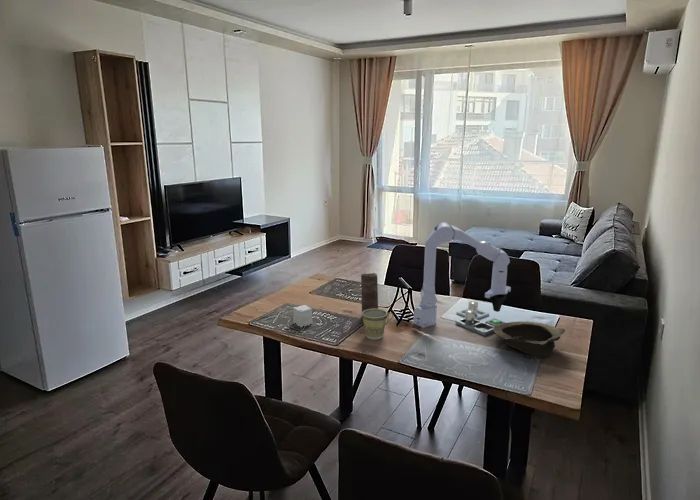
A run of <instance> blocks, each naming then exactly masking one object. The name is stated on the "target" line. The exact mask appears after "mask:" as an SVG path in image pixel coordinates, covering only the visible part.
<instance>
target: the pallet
mask: <svg viewBox="0 0 700 500" xmlns="http://www.w3.org/2000/svg"><path fill="white" fill-rule="evenodd" d="M455 325H457V326H459V327H462V328H464V329H466V330H468V331H472V332H474V333H476V334H479V335H480V336H483V337H486V336H488V335H492V334H494V333H495V332H494V331H493V330H494V327H495V326H492V325H490V324H487V323H485V321H482V320H480V319H478V320H477V319H475V322H474V324H473V325H468V324H466V323H465V317H463V318H460V319H457V320H455Z"/></svg>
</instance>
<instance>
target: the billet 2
mask: <svg viewBox="0 0 700 500" xmlns="http://www.w3.org/2000/svg"><path fill="white" fill-rule="evenodd" d="M464 314H465V317H464V318H465V323H466V324H468V325H473V324H474V322H475V317H476V316H475V311H474V310H465V312H464Z"/></svg>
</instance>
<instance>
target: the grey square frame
mask: <svg viewBox="0 0 700 500" xmlns="http://www.w3.org/2000/svg"><path fill="white" fill-rule="evenodd" d="M465 310H468V307H467V308H463V309H460V310H457V311H456V315H458V316H460V317H463V318H465ZM478 313H479V314H480V315H477V316H475V319H477V320H480V319H484V318H487V317H489V316H490V313H489V312H486V311H484V310H481V309H479V308H478V312H477V314H478Z"/></svg>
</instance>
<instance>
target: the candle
mask: <svg viewBox="0 0 700 500" xmlns="http://www.w3.org/2000/svg"><path fill="white" fill-rule="evenodd" d="M360 278H361V279H360V283H361V284H360V285H361V286H360V287H361V289H360V290H361V313H362V312H363V311H364V310H367V309H379V292H378V287H379V286H378V274H377V273H375V272H373V273H361V275H360Z"/></svg>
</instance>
